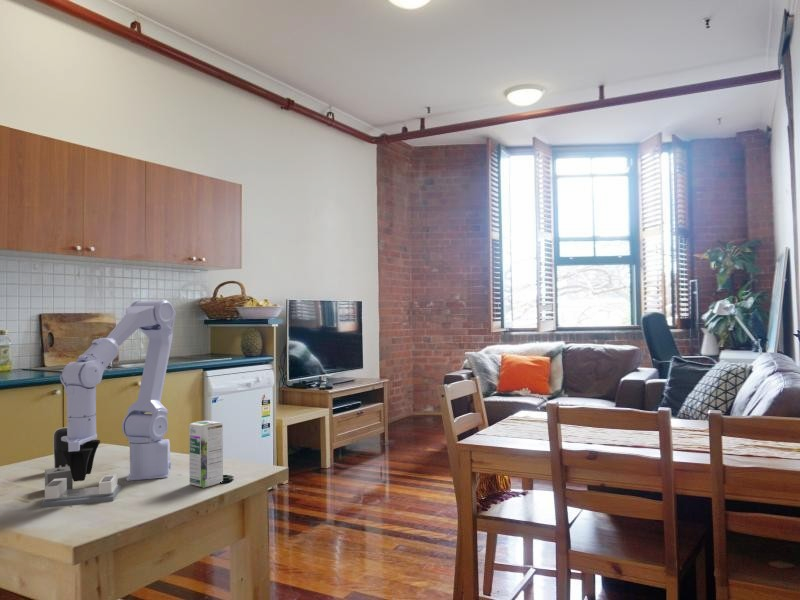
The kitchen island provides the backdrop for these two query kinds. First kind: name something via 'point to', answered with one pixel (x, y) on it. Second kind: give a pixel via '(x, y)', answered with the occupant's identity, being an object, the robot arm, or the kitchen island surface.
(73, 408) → the robot arm
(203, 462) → the syrup box
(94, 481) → the kitchen island surface
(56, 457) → the battery charger
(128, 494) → the kitchen island surface
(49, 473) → the dice cube
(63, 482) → the mounted modules
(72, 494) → the board
